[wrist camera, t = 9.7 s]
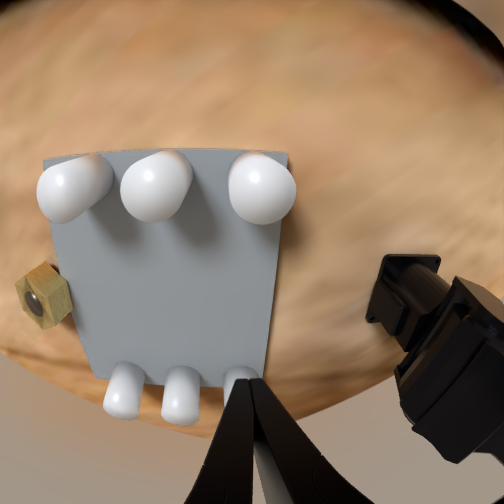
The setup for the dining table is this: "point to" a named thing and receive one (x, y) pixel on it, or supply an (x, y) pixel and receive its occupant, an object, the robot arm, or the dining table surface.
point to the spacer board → (169, 266)
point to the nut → (44, 296)
